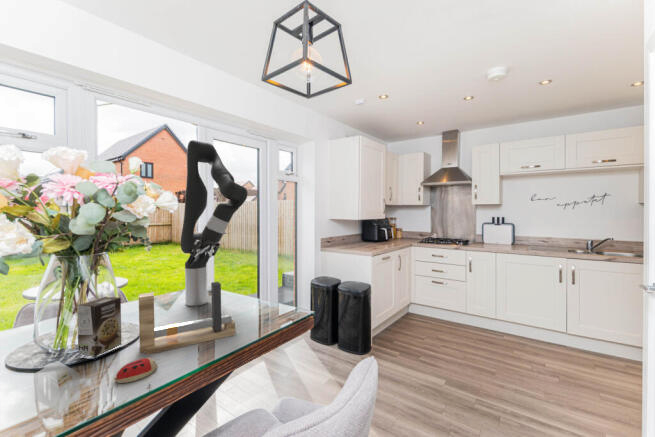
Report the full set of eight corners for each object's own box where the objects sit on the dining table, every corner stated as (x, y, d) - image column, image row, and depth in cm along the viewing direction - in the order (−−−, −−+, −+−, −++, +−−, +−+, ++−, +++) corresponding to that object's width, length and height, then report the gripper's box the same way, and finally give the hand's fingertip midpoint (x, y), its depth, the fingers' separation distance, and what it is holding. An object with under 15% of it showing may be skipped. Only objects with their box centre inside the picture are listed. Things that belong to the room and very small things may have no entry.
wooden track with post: (140, 344, 96) (139, 292, 95) (230, 325, 111) (230, 280, 111) (139, 356, 88) (138, 299, 88) (237, 334, 104) (236, 286, 103)
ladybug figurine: (161, 371, 80) (161, 358, 80) (120, 389, 72) (119, 375, 72) (150, 364, 84) (150, 351, 84) (109, 380, 76) (109, 367, 76)
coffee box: (95, 361, 86) (93, 306, 85) (77, 358, 87) (75, 304, 86) (122, 346, 94) (121, 297, 94) (106, 344, 96) (105, 296, 95)
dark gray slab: (211, 327, 106) (211, 282, 105) (218, 325, 107) (218, 281, 106) (214, 331, 101) (213, 285, 101) (221, 330, 103) (221, 284, 102)
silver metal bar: (147, 337, 94) (147, 329, 94) (230, 320, 108) (229, 313, 108) (147, 340, 92) (147, 331, 92) (231, 322, 106) (231, 315, 106)
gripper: (218, 226, 125) (200, 259, 125) (196, 222, 111) (176, 259, 111) (232, 234, 123) (213, 268, 123) (211, 231, 109) (191, 269, 109)
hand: (196, 264), depth 117 cm, fingers open, 8 cm apart
